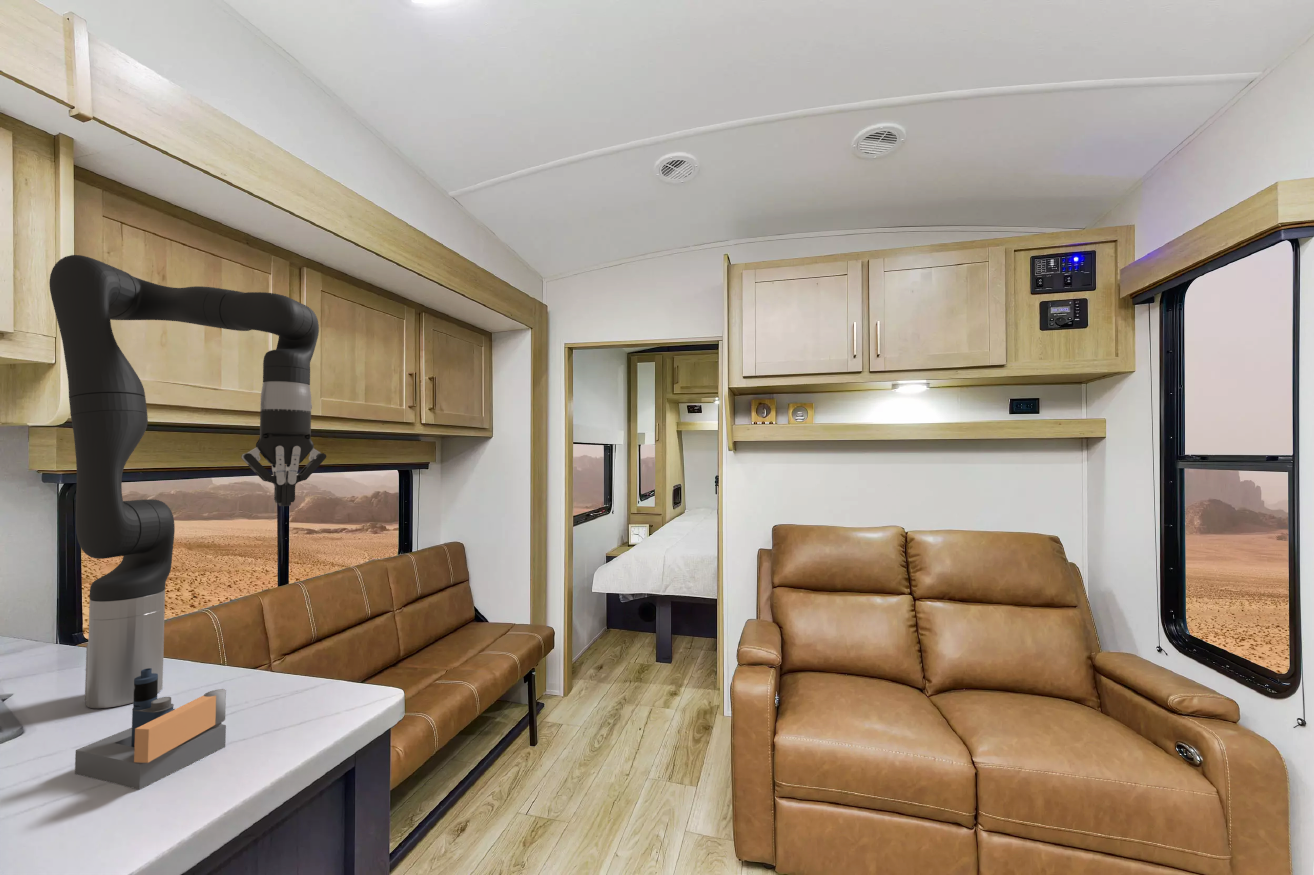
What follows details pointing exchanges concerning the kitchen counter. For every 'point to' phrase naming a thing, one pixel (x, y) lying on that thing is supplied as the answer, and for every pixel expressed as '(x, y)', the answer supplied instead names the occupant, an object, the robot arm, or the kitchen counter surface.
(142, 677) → the vaping device
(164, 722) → the orange bar
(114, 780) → the socket block
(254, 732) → the kitchen counter surface
